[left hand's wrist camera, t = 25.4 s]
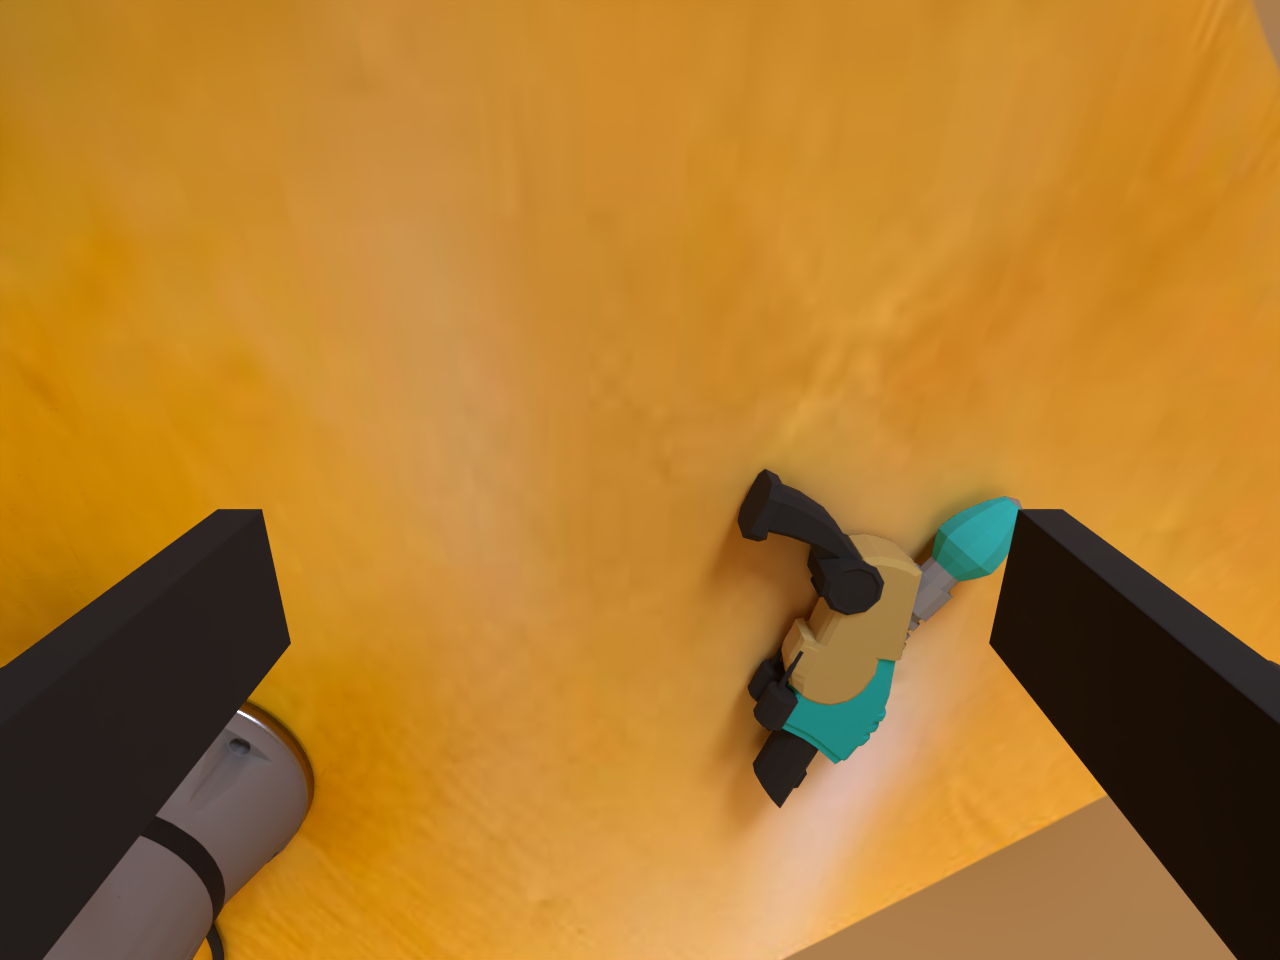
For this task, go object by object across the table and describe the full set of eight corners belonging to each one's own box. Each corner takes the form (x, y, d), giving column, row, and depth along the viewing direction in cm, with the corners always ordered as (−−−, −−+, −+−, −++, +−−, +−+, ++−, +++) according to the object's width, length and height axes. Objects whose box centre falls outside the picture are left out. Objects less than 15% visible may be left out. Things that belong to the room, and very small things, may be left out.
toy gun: (621, 775, 45) (827, 844, 48) (814, 418, 37) (1054, 522, 39) (622, 728, 49) (811, 792, 52) (796, 397, 41) (1013, 491, 43)
